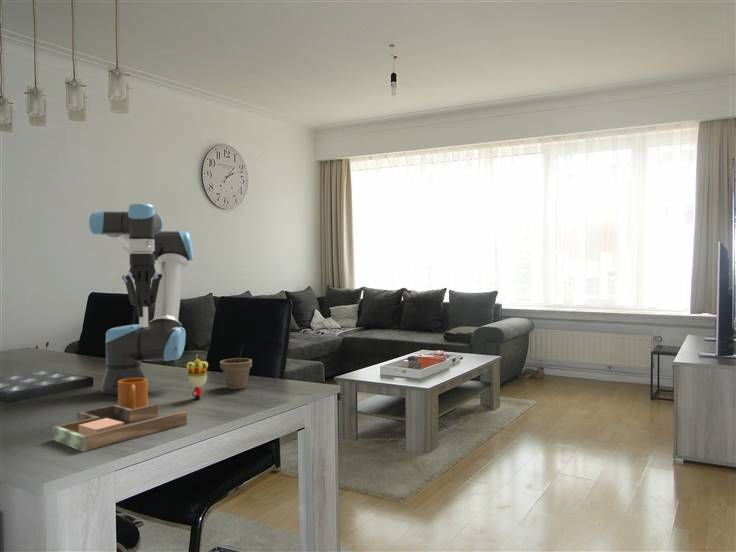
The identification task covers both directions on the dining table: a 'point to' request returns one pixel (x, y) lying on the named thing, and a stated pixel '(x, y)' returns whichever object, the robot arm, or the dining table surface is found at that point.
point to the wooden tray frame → (72, 438)
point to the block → (99, 426)
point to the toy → (197, 376)
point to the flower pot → (236, 372)
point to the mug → (133, 392)
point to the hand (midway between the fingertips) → (143, 326)
